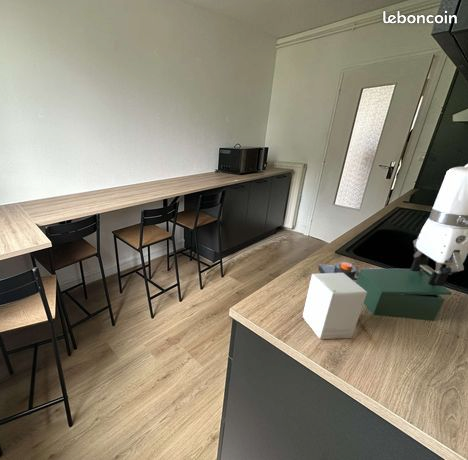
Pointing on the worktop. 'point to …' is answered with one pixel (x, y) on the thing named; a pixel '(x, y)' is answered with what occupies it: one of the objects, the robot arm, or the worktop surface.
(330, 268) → the control block
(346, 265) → the button
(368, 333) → the worktop surface
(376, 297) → the green lidded box
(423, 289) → the green box lid
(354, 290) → the white product box
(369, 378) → the worktop surface
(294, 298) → the worktop surface
